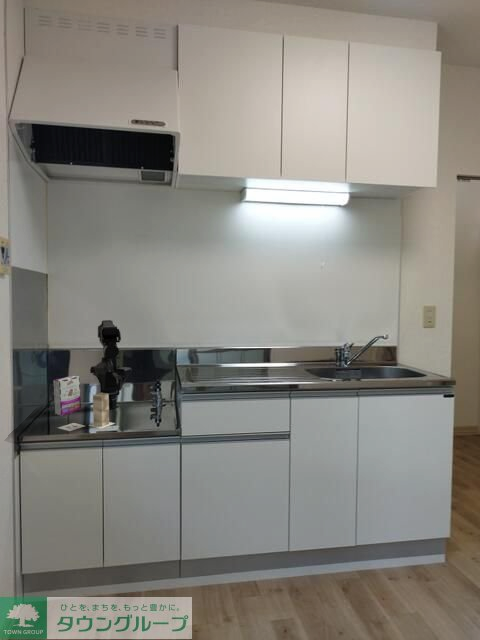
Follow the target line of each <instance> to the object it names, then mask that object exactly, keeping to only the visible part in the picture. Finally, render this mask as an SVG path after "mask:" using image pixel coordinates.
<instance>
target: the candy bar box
mask: <svg viewBox="0 0 480 640" xmlns="http://www.w3.org/2000/svg"><path fill="white" fill-rule="evenodd" d="M53 395H54V397H53V401H54V415H56V414H57V416H60V417H62V416H65V415H66V416H67V415H70V414H72V413H77V412H80V411H82V403H81V400H82V399H81V379H80V376H78V375H70V376H66V377H62V378H57V379H53Z"/></svg>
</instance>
